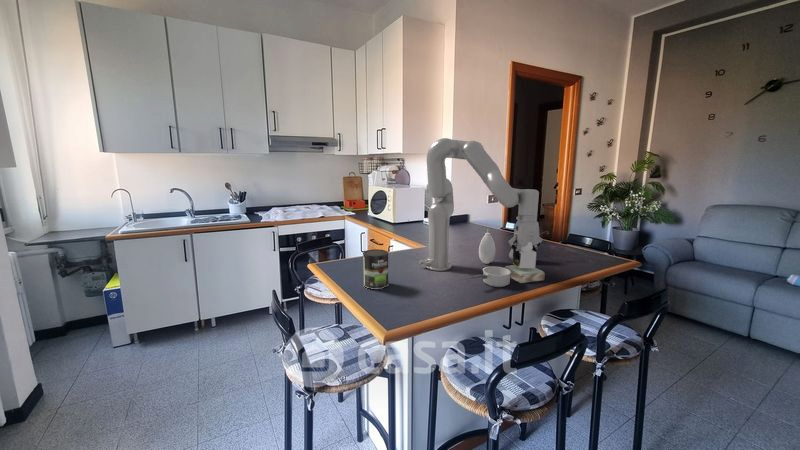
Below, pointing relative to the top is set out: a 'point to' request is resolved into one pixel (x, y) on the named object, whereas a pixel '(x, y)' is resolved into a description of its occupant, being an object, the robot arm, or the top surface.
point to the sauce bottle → (487, 248)
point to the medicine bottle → (526, 257)
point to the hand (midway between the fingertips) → (524, 258)
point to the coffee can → (375, 268)
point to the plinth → (525, 274)
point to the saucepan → (495, 276)
